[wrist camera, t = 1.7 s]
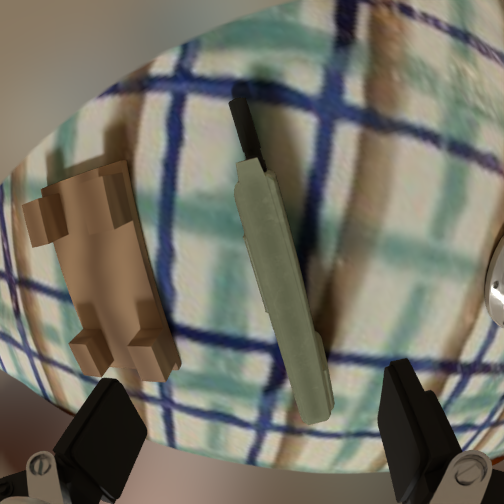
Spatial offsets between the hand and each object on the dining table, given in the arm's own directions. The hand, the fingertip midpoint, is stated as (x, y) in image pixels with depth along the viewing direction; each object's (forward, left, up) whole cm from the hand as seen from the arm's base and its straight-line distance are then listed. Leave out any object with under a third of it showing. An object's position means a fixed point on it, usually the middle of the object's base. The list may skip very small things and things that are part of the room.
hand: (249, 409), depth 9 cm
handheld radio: (-1, 0, -16) cm, 16 cm away
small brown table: (+16, 0, -16) cm, 22 cm away
